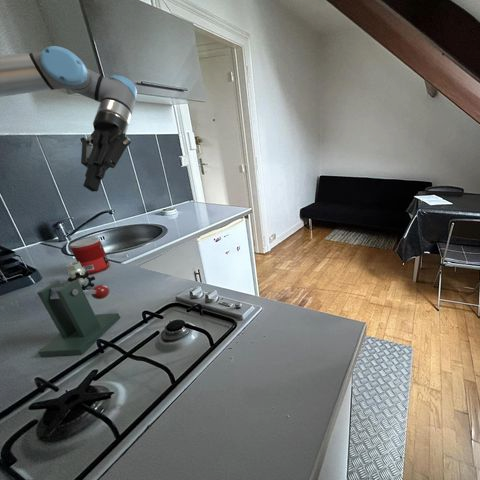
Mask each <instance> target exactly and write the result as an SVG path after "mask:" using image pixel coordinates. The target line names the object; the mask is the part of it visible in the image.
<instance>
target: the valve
mask: <svg viewBox="0 0 480 480" xmlns="http://www.w3.org/2000/svg"><path fill="white" fill-rule="evenodd" d="M65 267H66V268H67V270H68V273H67V274H68V276H69V277H67V282H68V283H70V282H72V281H74V280H78V281H79V283H80V285H81V287H82V289H83V290H89V289H88V288H89V287H90V288H94V287H95V283H94V281H95V280H96V277H95V276H94V275H93V276H91V277H90V274H89V272H86V270H85V269H84V268H83V267H82V266H81V264H80V262H79V261H77V260H76V261H72V262H69V263H67V264H66V266H65ZM87 281H88V282H87ZM92 281H93V282H92ZM86 282H87V283H86ZM85 283H86V285H85Z"/></svg>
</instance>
